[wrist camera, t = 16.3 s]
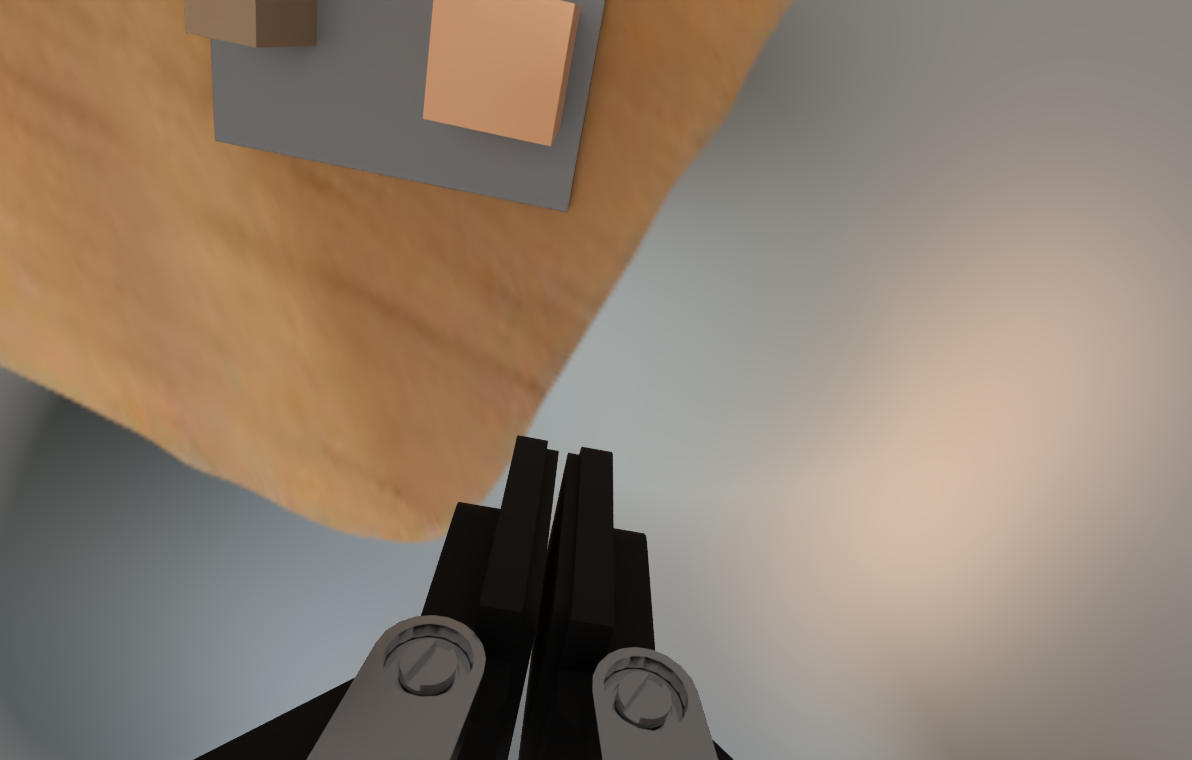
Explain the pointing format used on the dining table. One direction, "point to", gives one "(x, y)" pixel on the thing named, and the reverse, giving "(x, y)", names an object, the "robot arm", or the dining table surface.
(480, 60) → the tan cardboard box
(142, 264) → the dining table surface
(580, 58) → the post stand
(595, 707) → the robot arm
